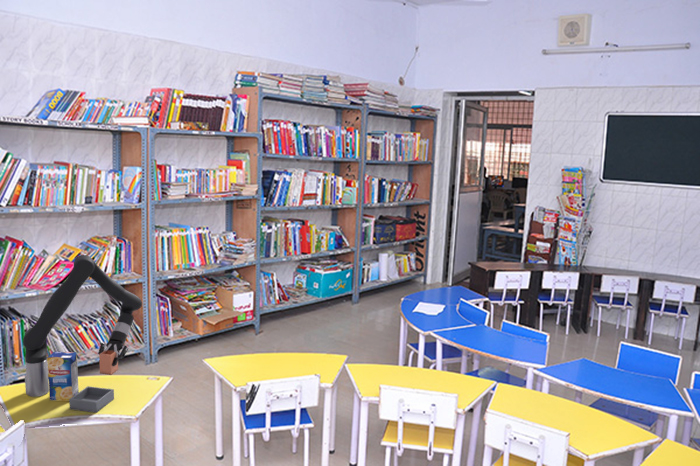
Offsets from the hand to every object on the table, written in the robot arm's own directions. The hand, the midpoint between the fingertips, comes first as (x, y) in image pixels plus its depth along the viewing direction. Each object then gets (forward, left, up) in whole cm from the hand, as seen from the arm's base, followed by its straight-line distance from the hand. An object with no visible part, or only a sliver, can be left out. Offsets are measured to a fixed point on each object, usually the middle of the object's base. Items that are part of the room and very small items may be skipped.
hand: (106, 364), depth 274 cm
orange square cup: (0, +2, -4) cm, 5 cm away
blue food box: (-21, -3, -18) cm, 28 cm away
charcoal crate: (-4, -6, -18) cm, 19 cm away
